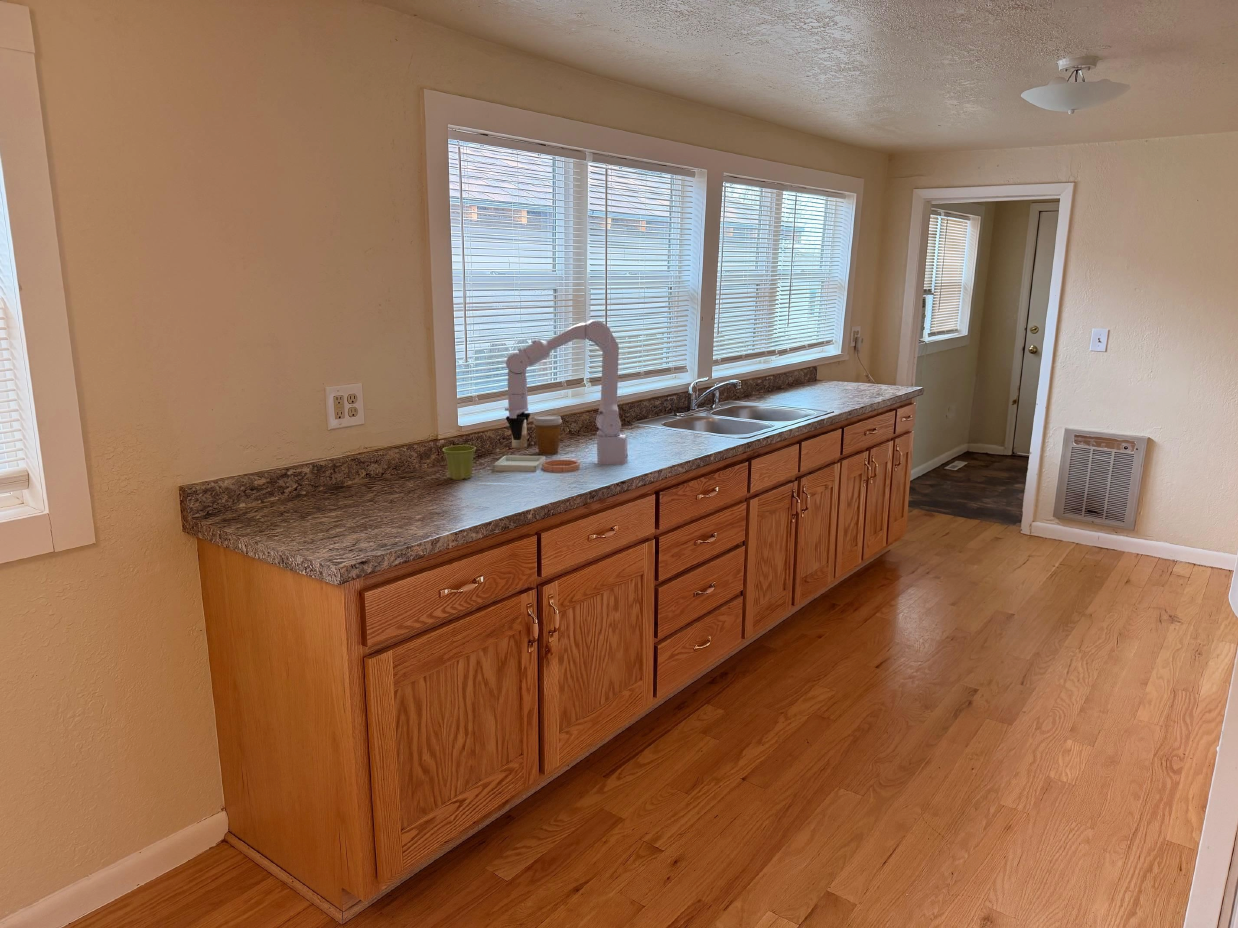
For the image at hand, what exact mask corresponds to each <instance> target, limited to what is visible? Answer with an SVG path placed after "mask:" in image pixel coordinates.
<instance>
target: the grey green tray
mask: <svg viewBox="0 0 1238 928" xmlns="http://www.w3.org/2000/svg"><path fill="white" fill-rule="evenodd" d="M546 457H547V456H546V455H503V457H501V458H500V459H499V460H497V461H496V462H494V463H493V464H492V471H493V472H537V471H539V469H540V468H542V463H543V462H545V461H547V458H546Z"/></svg>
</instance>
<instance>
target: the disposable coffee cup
mask: <svg viewBox="0 0 1238 928" xmlns="http://www.w3.org/2000/svg"><path fill="white" fill-rule="evenodd" d="M562 422H563V420H562V418H561V415H560V416H559V415H554V414H543V415H536V416H534V418H533V420H532V423H533V424H534V431H535V438H536V443H537V449H538V454H540V455H541V456H546V455H548V456H549V455H552V454H553V455H556V454H558V453H559V444H560V437H561V426H562V425H561V424H562Z"/></svg>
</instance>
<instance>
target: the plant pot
mask: <svg viewBox="0 0 1238 928" xmlns="http://www.w3.org/2000/svg"><path fill="white" fill-rule="evenodd" d="M476 449H477V447H476V446H474V445H466V444H465V445H463V444H462V445H461V444H460V445H450V446H446V447H443V448H442V452H443V454H444V457H445V459H446V465H447V468H448V474H449V478H450V479H452V480H455V481H456V480H457V481H462V480H463V479H466V480H467V479H471V478H472V474H473V462H474V455H475V451H476Z"/></svg>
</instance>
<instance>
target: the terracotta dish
mask: <svg viewBox="0 0 1238 928" xmlns="http://www.w3.org/2000/svg"><path fill="white" fill-rule="evenodd" d="M580 468H581V463H580V461H578V460H574V459H569V458H567V459H563V458H561V459H560V458H559V459H550V460H546V461H545V462H543V463H542V466H541V470H543V471H545V472H548V473H549V472H550V473H565V472H566V473H567V472H568V473H569V472H575V471H578V470H579V469H580Z"/></svg>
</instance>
